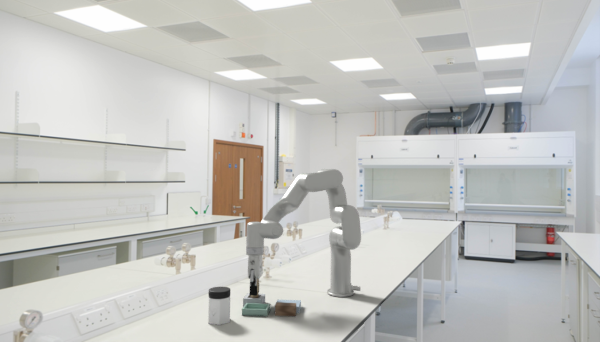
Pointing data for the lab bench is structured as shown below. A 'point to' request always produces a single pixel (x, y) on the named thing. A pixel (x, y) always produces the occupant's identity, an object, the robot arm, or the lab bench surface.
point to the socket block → (254, 299)
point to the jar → (219, 305)
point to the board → (298, 302)
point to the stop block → (285, 309)
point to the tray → (256, 309)
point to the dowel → (257, 290)
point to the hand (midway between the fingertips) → (254, 293)
